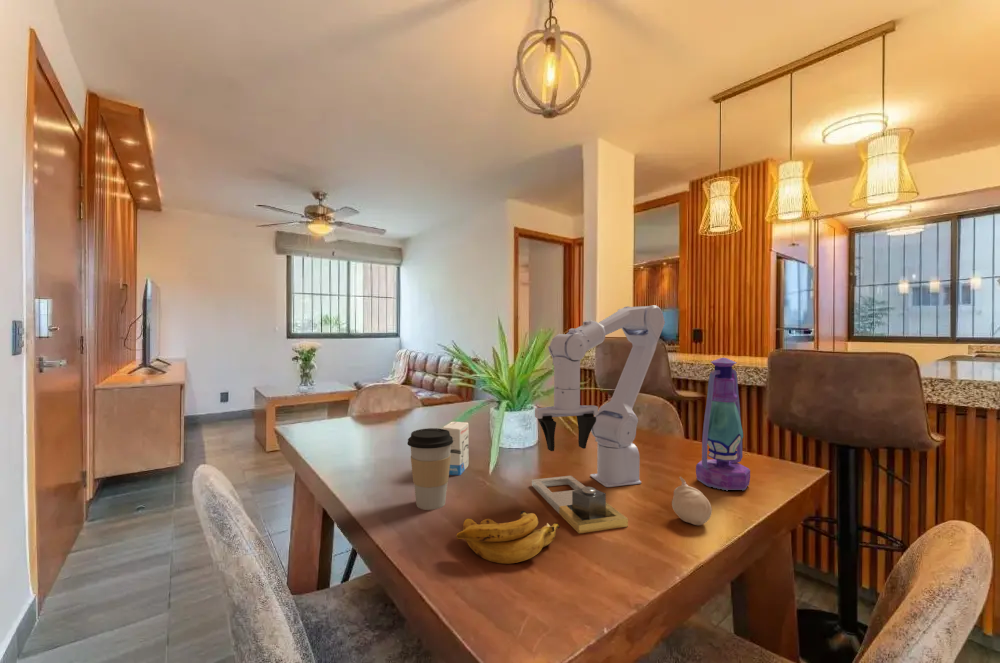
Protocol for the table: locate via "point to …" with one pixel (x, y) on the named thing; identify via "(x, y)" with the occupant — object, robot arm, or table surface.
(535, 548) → the banana
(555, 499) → the plate with square hole
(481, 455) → the table surface
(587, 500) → the grey knobbed block
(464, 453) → the ink box
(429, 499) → the coffee cup
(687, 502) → the garlic bulb
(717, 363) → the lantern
